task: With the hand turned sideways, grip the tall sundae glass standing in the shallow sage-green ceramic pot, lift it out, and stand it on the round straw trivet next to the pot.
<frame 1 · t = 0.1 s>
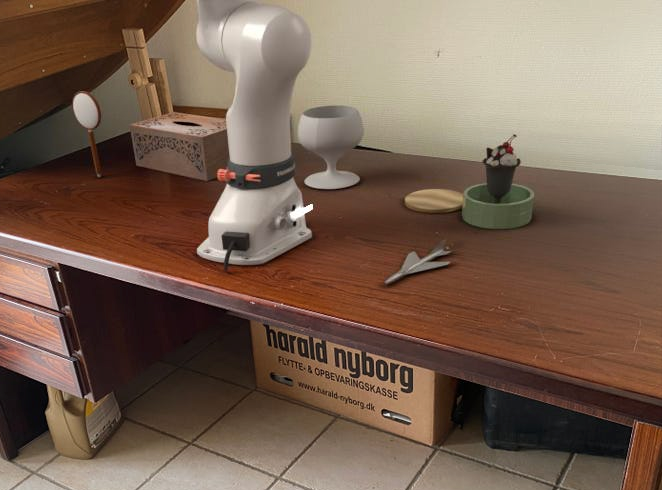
magnifying glass: (99, 178, 175), on the table
toy airplane: (422, 265, 119), on the table
tissue box cover: (192, 165, 178), on the table
chalice: (332, 182, 159), on the table
sundae: (496, 216, 134), resting on pot
trivet: (435, 202, 143), on the table
pot: (496, 216, 134), on the table
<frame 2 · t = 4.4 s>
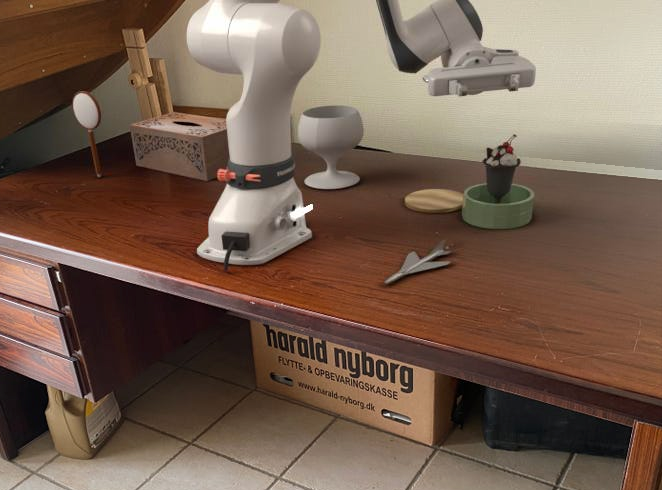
hand: (488, 89, 135), 20 cm above the table, tool horizontal, fingers open, 8 cm apart
nothing on the table moved.
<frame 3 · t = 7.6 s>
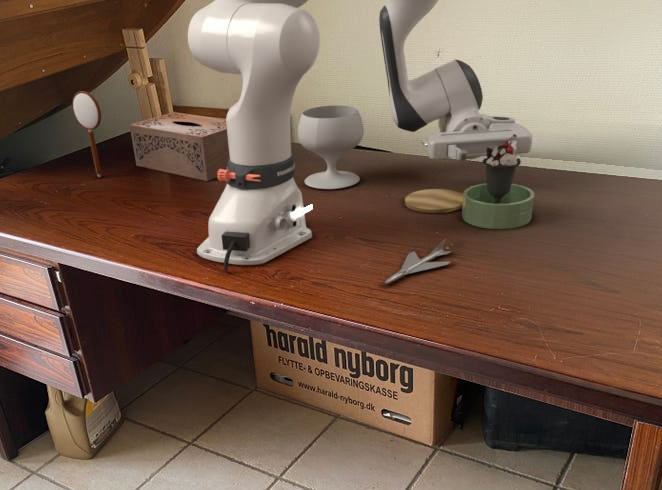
hand: (487, 154, 138), 9 cm above the table, tool horizontal, fingers open, 8 cm apart
nothing on the table moved.
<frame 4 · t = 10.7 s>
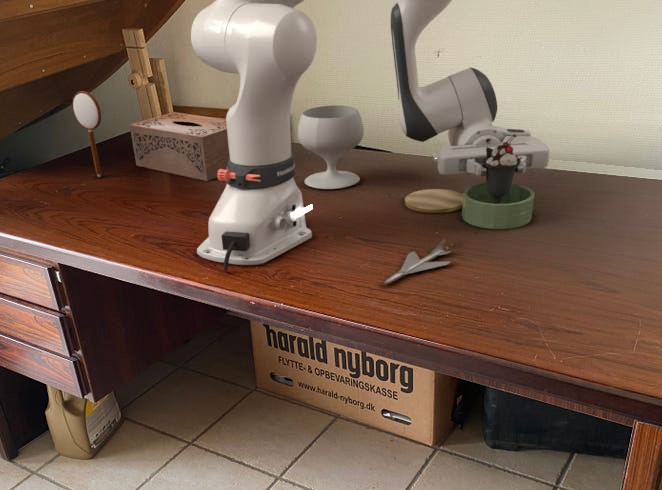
hand: (502, 170, 129), 9 cm above the table, tool horizontal, fingers closed on sundae, 5 cm apart
sundae: (496, 216, 134), resting on pot, touching gripper
everything else where it was.
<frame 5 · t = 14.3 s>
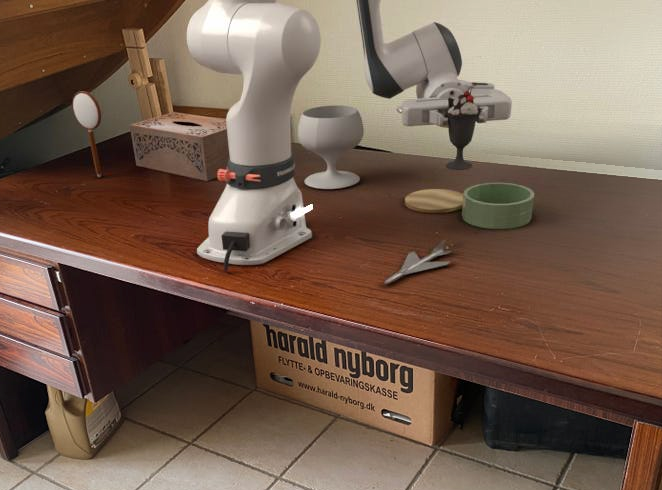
hand: (463, 119, 130), 17 cm above the table, tool horizontal, fingers closed on sundae, 5 cm apart
sundae: (459, 167, 136), point 8 cm above the table, touching gripper
everything else where it was.
when the fingers open (10 cm above the table, at t = 17.8 s): sundae stays where it is, resting on trivet.
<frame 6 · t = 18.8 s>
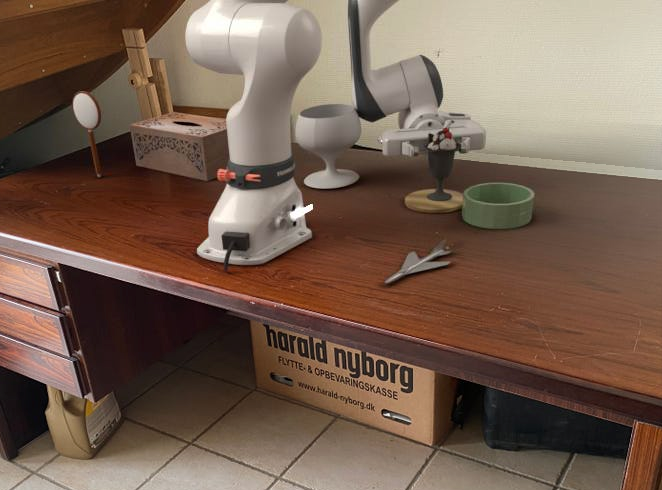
hand: (439, 151, 138), 10 cm above the table, tool horizontal, fingers open, 8 cm apart
chalice: (331, 181, 159), on the table, touching arm
sundae: (439, 197, 144), point 1 cm above the table, touching gripper, trivet
everything else where it was.
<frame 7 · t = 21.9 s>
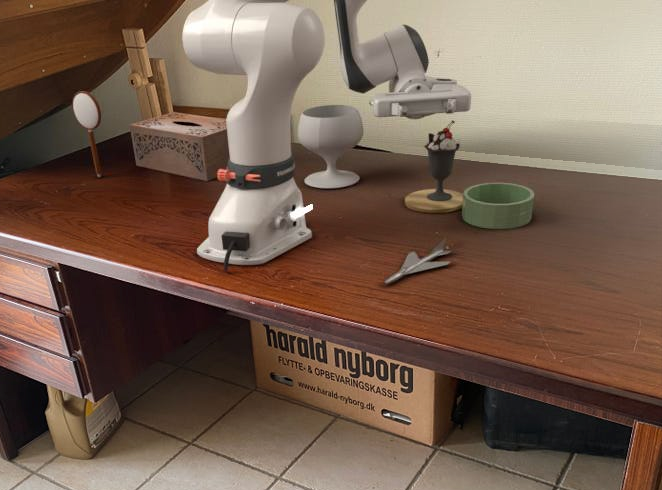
hand: (427, 111, 146), 15 cm above the table, tool horizontal, fingers open, 8 cm apart
chalice: (331, 181, 160), on the table
sundae: (439, 198, 144), point 1 cm above the table, touching trivet
everything else where it was.
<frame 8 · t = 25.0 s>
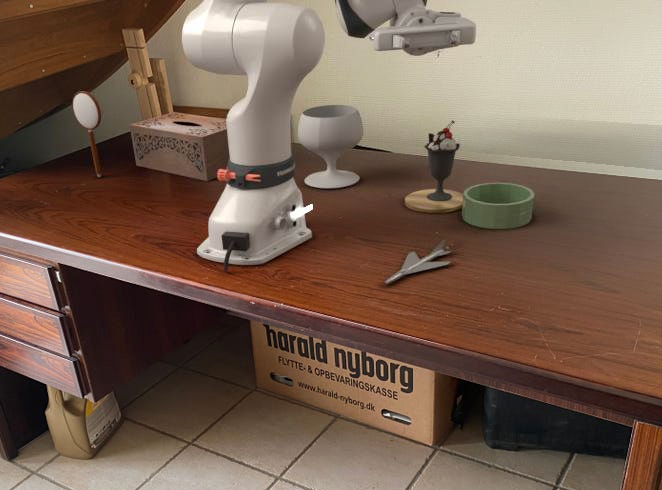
hand: (430, 41, 139), 28 cm above the table, tool horizontal, fingers open, 8 cm apart
nothing on the table moved.
at the end: sundae 1.2 cm off-centre on the trivet, point 0.6 cm above the trivet's base; sundae tilted 0°; sundae touching trivet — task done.
